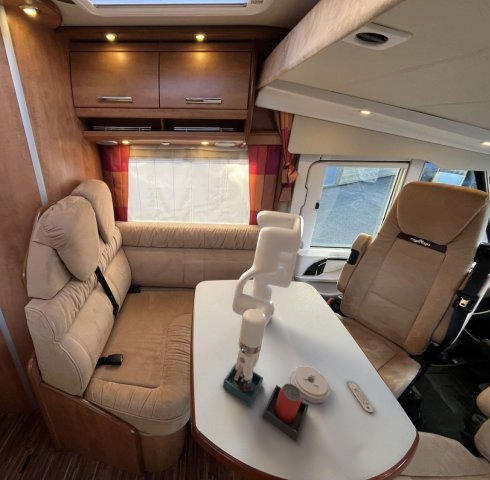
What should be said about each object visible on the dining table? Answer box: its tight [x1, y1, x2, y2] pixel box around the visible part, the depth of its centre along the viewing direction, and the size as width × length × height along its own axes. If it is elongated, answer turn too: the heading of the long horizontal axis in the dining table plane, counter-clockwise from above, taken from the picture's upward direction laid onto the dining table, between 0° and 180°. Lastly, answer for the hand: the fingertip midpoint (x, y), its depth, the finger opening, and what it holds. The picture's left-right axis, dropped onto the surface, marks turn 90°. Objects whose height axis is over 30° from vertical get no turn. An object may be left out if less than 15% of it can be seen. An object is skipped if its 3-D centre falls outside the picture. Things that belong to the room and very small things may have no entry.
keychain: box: [348, 382, 374, 413], centre depth 86 cm, size 10×1×3 cm
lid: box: [290, 365, 331, 404], centre depth 88 cm, size 13×13×5 cm
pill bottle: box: [236, 372, 253, 392], centre depth 87 cm, size 6×6×10 cm
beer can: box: [275, 383, 302, 423], centre depth 78 cm, size 7×7×12 cm
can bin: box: [262, 384, 309, 443], centre depth 80 cm, size 11×11×4 cm
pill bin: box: [222, 362, 264, 407], centre depth 89 cm, size 10×11×4 cm
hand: (244, 376), depth 87 cm, fingers open, 7 cm apart
